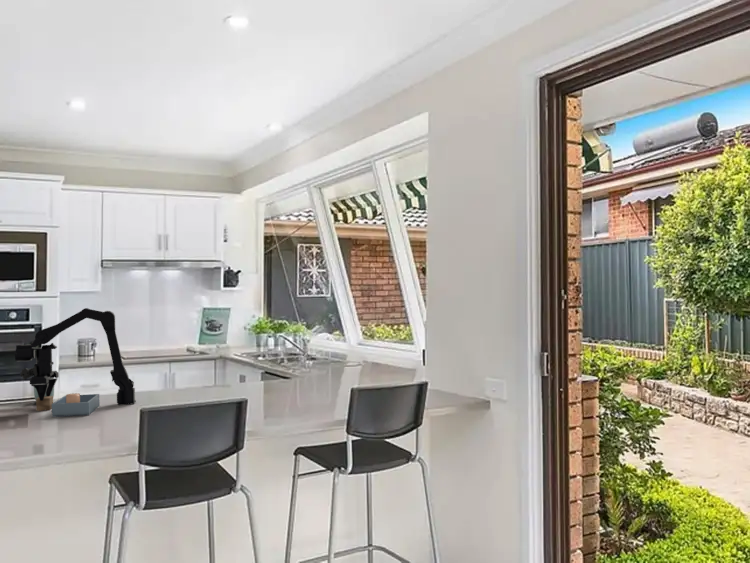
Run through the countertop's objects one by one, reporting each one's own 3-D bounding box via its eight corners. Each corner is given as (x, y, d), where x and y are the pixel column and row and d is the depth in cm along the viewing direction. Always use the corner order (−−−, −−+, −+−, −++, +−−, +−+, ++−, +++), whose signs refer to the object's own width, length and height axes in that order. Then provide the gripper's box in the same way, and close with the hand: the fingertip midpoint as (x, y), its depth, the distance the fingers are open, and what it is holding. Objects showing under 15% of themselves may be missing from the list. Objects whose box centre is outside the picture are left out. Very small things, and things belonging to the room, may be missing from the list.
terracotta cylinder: (78, 413, 263) (78, 395, 263) (64, 413, 262) (64, 395, 262) (81, 410, 268) (81, 393, 268) (68, 411, 267) (67, 393, 267)
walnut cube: (53, 408, 278) (52, 396, 278) (49, 410, 273) (49, 398, 273) (40, 408, 277) (39, 396, 277) (36, 411, 272) (36, 398, 272)
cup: (46, 404, 287) (45, 380, 287) (30, 403, 289) (29, 380, 288) (58, 400, 295) (57, 377, 295) (42, 400, 296) (42, 377, 296)
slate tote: (99, 405, 281) (99, 393, 281) (88, 415, 262) (88, 402, 262) (65, 407, 278) (64, 395, 278) (51, 417, 259) (51, 404, 259)
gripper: (30, 358, 283) (30, 395, 283) (15, 364, 265) (15, 403, 265) (58, 357, 285) (59, 394, 285) (45, 362, 267) (46, 402, 267)
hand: (45, 398), depth 275 cm, fingers open, 9 cm apart
